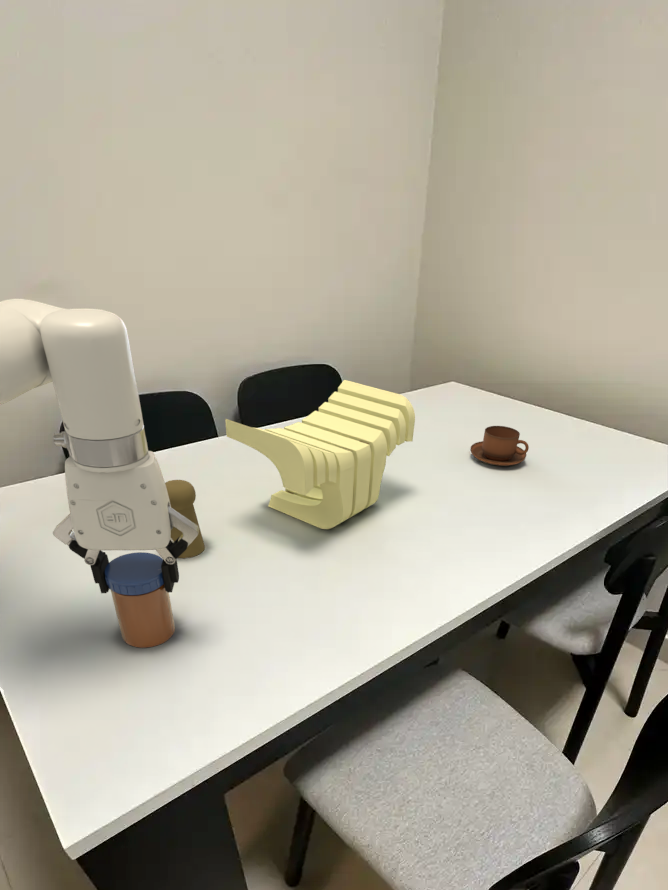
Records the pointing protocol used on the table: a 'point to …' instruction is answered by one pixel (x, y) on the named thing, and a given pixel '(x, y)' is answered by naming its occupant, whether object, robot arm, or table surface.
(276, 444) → the slatted curved stool
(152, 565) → the jar lid
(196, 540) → the olive game pawn
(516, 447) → the cup and saucer
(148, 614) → the jam jar
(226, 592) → the table surface
